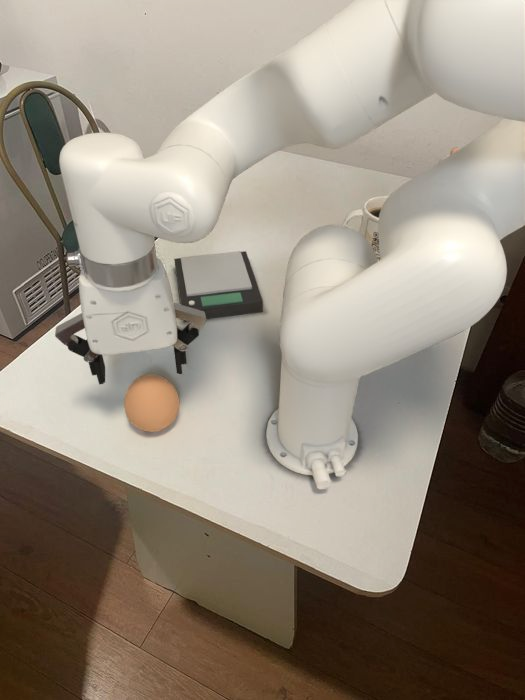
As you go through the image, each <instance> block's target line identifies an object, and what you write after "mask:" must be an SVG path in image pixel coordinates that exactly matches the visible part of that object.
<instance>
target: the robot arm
mask: <svg viewBox="0 0 525 700" xmlns="http://www.w3.org/2000/svg"><path fill="white" fill-rule="evenodd" d="M435 94H436V95H437V96H439V97H440V98H441V99H442V100H445V101H447V102H449V103H451V104H453V105H456V106H458V107H461V108H463V109H466V110H469V111H473V112H476V113H481V114H483V115H484V114H485V115H487V116H492V117H498V118H501V120H500V121H499V122H498V123H496V124H495V125H493V126H492V127H490V128H489V129H488V130H486V131H485V132H483V133H482V134H480V135H479V136H478V137H476V138H475V139H473V140H472V141H470V142H469V143H467V144H465V145H464V146H462V147H460V148H459V150H458V151H456V152H454V153H453V154H451V155H450V156H448V157H446V158H445V159H443V160H442V161H440V162H439V161H438V162H439V163H438V162H437V163H435V164H434V165H433V166H431V167H429V168H428V169H426V170H424V171H422V172H421V173H419V174H418V175H417V176H414V177H413V178H412V179H411V178H410V179H409V180H408V181H407V182H405V183H404V184H401V186H399V187H398V188H396V189H395V190H394V191H393V192H391V194H389V195H388V196H389V197H388V198H387V199H386V201H385V202H384V204H383V206H382V208H381V211H380V214H379V220H378V237H379V251H380V261H378V260H377V257H376V254H375V252H374V250H373V248H372V246H371V244H370V243H369V242H368V240H367V239H366V238H365V237H364V236H363V235H361V234H360V233H359V232H360V231H357V230H356V229H354V228H352V227H349V226H347V225H346V226H342V224H341V225H340V224H327V225H323V226H319V227H317V228H314V229H312V230H311V231H309V232H307V233H306V234H305V235H304V236H303V237H302V238H300V240H299V241H298V242H297V244H295V246H294V248H293V249H292V252H291V253H290V256H289V259H288V262H287V267H286V272H285V278H284V287H283V293H282V294H283V295H282V304H281V313H280V320H279V333H278V334H279V335H278V336H279V338H278V339H279V346H280V350H281V351H280V352H281V364H280V365H281V367H280V380H279V381H280V382H279V398H278V399H279V401H278V402H279V403H278V408H277V409H275V410H274V412H273V413H272V414H271V416H270V417H269V420H268V421H267V425H266V429H265V430H266V431H265V432H266V433H265V434H266V436H265V437H266V444H267V447H268V449H269V451H270V453H271V454H272V456H273V457H274V459H275V460H276V461H278V463H279V464H281V465H282V466H283V467H285V468H286V469H288V470H290V471H292V472H295V473H296V474H301V475H304V476H312V477H313V480H314V483H315V487H316V489H317V490H326V489H328V488H330V487H331V486H332V484H333V483H332V480H331V478H330V474H333V473H334V475H335V477H338V478H339V477H343V476H344V475H346V473H347V471H346V469H345V467H346V466H347V465H348V464H349V463H350V462H351V461H352V459H353V458H354V456H355V454H356V452H357V448H358V442H359V433H358V432H359V431H358V429H357V425H356V424H355V422H354V420H353V418H352V415H353V411H354V408H355V407H354V406H355V402H356V398H357V397H356V396H357V392H358V388H359V383H360V378H361V377H363V376H367V375H369V374H371V373H373V372H376V371H379V370H381V369H383V368H386V367H387V366H389V365H392V364H394V363H396V362H399V361H401V360H403V359H406V358H408V357H410V356H412V355H415V354H418V353H420V352H422V351H424V350H426V349H428V348H431V347H433V346H435V345H437V344H439V343H442V342H444V341H446V340H449V339H450V338H452V337H454V336H456V335H458V334H461V333H463V332H464V331H466V330H468V329H470V328H471V327H472V326H474V325H475V324H476V323H478V322H479V321H481V319H483V318H484V317H485V316H486V315H487V314H488V313H489V312H490V311H491V309H492V308H493V307H494V306H495V305H496V304H497V302H498V301H499V299H500V297H501V295H502V293H503V291H504V288H505V285H506V282H507V275H508V274H507V273H508V267H507V260H506V254H505V251H504V248H503V245H502V243H501V241H502V240H503V239H504V238H506V237H507V236H508V235H510V234H512V233H514V232H516V231H517V230H519V229H521V228H522V227H524V226H525V0H353V1H352V2H351V3H350V4H348V5H347V6H345V7H344V8H343V9H342V10H340V11H339V12H338V13H336V14H335V15H333V16H332V17H331V18H329V19H328V20H326V21H324V22H323V23H322V24H321V25H319V26H318V27H317V28H315V29H314V30H312V31H311V32H310V33H308V34H307V35H306V36H304V37H302V38H301V39H300V40H298V41H297V42H296V43H294V44H293V45H292V46H290V47H289V48H287V49H286V50H284V51H282V52H281V53H278V54H277V55H275V56H273V57H272V58H270V59H269V60H268V61H266V62H265V63H264V64H262V65H261V66H259V67H258V68H255V69H253V70H252V71H250V72H248V73H247V74H245V75H244V76H242V77H241V78H239V79H237V80H236V81H234V82H233V83H231V84H230V85H229V86H227V87H226V88H224V89H223V90H222V91H220V92H218V94H216V95H215V96H213V97H212V98H211V99H210V100H207V102H205V103H204V104H203V105H201V106H200V107H199V108H197V109H196V110H195V111H194V112H192V113H191V114H190V115H188V116H187V117H185V118H184V119H183V120H182V121H180V123H179V124H177V125H176V126H175V127H174V128H173V130H171V131H170V133H169V134H168V135H167V137H166V138H165V139H164V140H163V142H162V143H161V145H160V146H159V148H158V149H157V151H156V153H154V154H153V155H151V156H148V157H145V155H144V153H143V150H142V148H141V147H140V146H139V144H138V143H137V142H136V140H134V139H132V138H131V137H128V136H126V135H124V134H120V133H115V132H91V133H85V134H83V135H78V136H77V137H76V136H75V137H74V138H72V139H70V140H69V141H67V142H66V143H65V144H64V145H63V146H62V148H61V149H60V153H59V157H58V158H59V160H58V161H59V162H58V163H59V169H60V174H61V178H62V182H63V186H64V190H65V194H66V199H67V202H68V206H69V211H70V214H71V215H70V216H71V218H72V219H71V220H72V222H73V227H74V231H75V234H76V238H77V243H78V249H77V250H74V252H67V253H66V261H67V264H68V266H69V267H74V266H75V267H76V268H79V267H80V273H79V276H78V294H79V302H80V303H79V304H80V310H81V313H79V314H77V315H76V316H73V317H71V318H70V319H67V320H66V321H64V322H62V323H60V324H59V325H57V326H56V327H55V331H54V337H55V338H56V339H57V340H58V341H60V343H62V344H63V345H64V346H66V347H67V349H68V351H70V352H72V353H74V354H76V355H78V356H80V357H82V358H83V361H84V362H86V363H88V365H89V369H90V373H91V376H96V378H97V382H98V385H104V383H106V364H105V359H104V356H105V355H106V356H109V355H119V354H127V353H128V354H129V353H135V352H145V351H146V352H147V351H153V350H161V349H167V348H169V347H173V354H174V362H175V363H174V364H175V370H176V374H177V375H179V376H180V375H183V365H187V364H188V362H187V361H188V360H187V351H188V349H189V345H190V344H191V343H193V342H194V340H196V339H197V338H198V337H199V336H200V332H201V331H202V330H203V328H204V326H205V324H206V322H207V319H206V316H205V312H204V311H201V310H197V309H194V308H191V307H187V306H184V305H181V303H177V302H175V301H174V297H173V292H172V287H171V283H170V279H169V276H168V274H167V271H166V268H165V265H164V263H163V261H162V260H161V259H160V258H158V256H157V248H156V240H155V238H156V239H157V238H158V239H160V240H165V241H168V242H171V243H177V244H178V243H179V244H193V243H197V242H200V241H201V240H204V239H205V238H207V237H208V236H209V235H210V234H211V233H212V232H213V230H214V229H215V228H216V225H217V224H218V222H219V219H220V216H221V213H222V210H223V207H224V204H225V202H226V199H227V195H228V193H229V190H230V187H231V184H232V182H233V180H234V179H235V178H237V177H239V175H241V174H242V173H244V172H245V171H247V170H249V169H250V168H252V167H253V166H254V165H255V164H258V163H259V162H261V161H264V159H266V158H268V157H270V156H271V155H272V154H275V153H277V152H279V151H281V150H283V149H286V148H288V147H291V146H294V145H300V144H301V145H302V144H310V145H314V146H317V147H321V148H324V149H330V150H338V149H343V148H345V147H348V146H349V145H351V144H353V143H355V142H356V141H357V140H359V139H361V138H363V137H365V135H368V134H370V133H371V132H372V131H374V130H376V129H378V128H380V127H381V126H382V125H384V124H385V123H388V122H389V121H391V120H392V119H394V118H396V117H397V116H399V115H401V114H402V113H404V112H406V111H407V110H410V109H411V108H412V107H414V106H416V105H418V104H419V103H421V102H422V101H424V100H427V99H428V98H430V97H431V96H433V95H435ZM177 319H179V320H182V321H183V320H185V321H186V322H189V323H188V324H187V325H186V326H185V327H183V328H182V327H180V326H179V325H178V323H177V322H178V321H177ZM83 330H84V331H85V335H86V339H85V338H83V337H82V336H81V337H80V336H79V335H76V333H78V332H80V331H83Z"/></svg>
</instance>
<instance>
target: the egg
mask: <svg viewBox="0 0 525 700" xmlns="http://www.w3.org/2000/svg"><path fill="white" fill-rule="evenodd" d="M123 401H124V402H123V403H124V404H123V406H124V407H123V408H124V412H125V415H126V418H127V419H128V421H129V422H130V423H131V425H133V426H134V427H136V428H137V429H139V430H141V431H145V432H150V433H152V432H159V431H161V430H164V429H166V428H167V427H169V426H170V425H171V424H172V423H173V422H174V421H175V419H176V418H177V416H178V413H179V411H180V397H179V394H178V391H177V389H176V388H175V386H174V384H172V382H170V381H169V380H168V379H166V378H165V377H163V376H161V375H158V374H153V373H149V374H144V375H140V376H139V377H137V378H136V379H134V381H132V383H130V385H129V387H128V388H127V390H126V393H125V395H124V400H123Z"/></svg>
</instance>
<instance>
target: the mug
mask: <svg viewBox="0 0 525 700" xmlns="http://www.w3.org/2000/svg"><path fill="white" fill-rule="evenodd" d="M389 196H390V195H382V196H375V197H371V198H369V199H367V200H366V201H365V203H364V204H363V209H355V210H353V211H351V212H350V213H348V214H347V215H346V216H345V218H344V220H343V222H342V224H341V225H342V226H346V227H347V225H348V223H349V222H350V221H351V220H352V219H354V218H357V217H361V219H360V220H361V221H360V228H359V231H358V232H359V233H360V234H361V235H363V236H364V237H365V238H366V239H367V240H368V242H369V243H370V244H371V246H372V248H373V250H374V252H375V254H376V257H377V260H378V261H380V251H379V237H378V220H379V214H380V211H381V208H382V206H383V204H384V202H385V201H386V199H387V198H388V197H389Z"/></svg>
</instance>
